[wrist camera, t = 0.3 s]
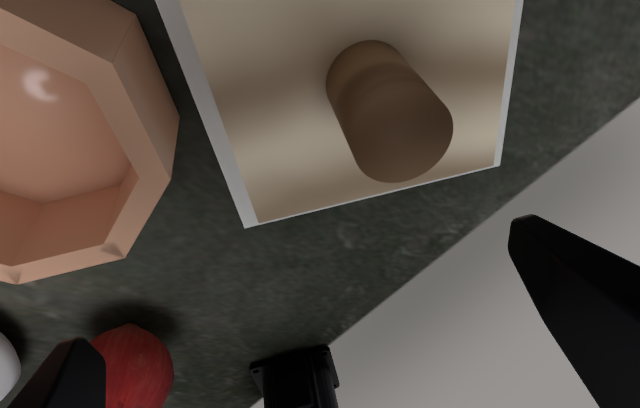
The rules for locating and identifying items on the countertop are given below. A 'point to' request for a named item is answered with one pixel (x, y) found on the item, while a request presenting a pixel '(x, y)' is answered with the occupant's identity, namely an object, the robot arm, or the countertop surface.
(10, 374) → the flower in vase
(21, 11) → the octagonal clay planter
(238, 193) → the mat
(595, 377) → the robot arm
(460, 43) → the board
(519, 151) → the countertop surface
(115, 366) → the onion
